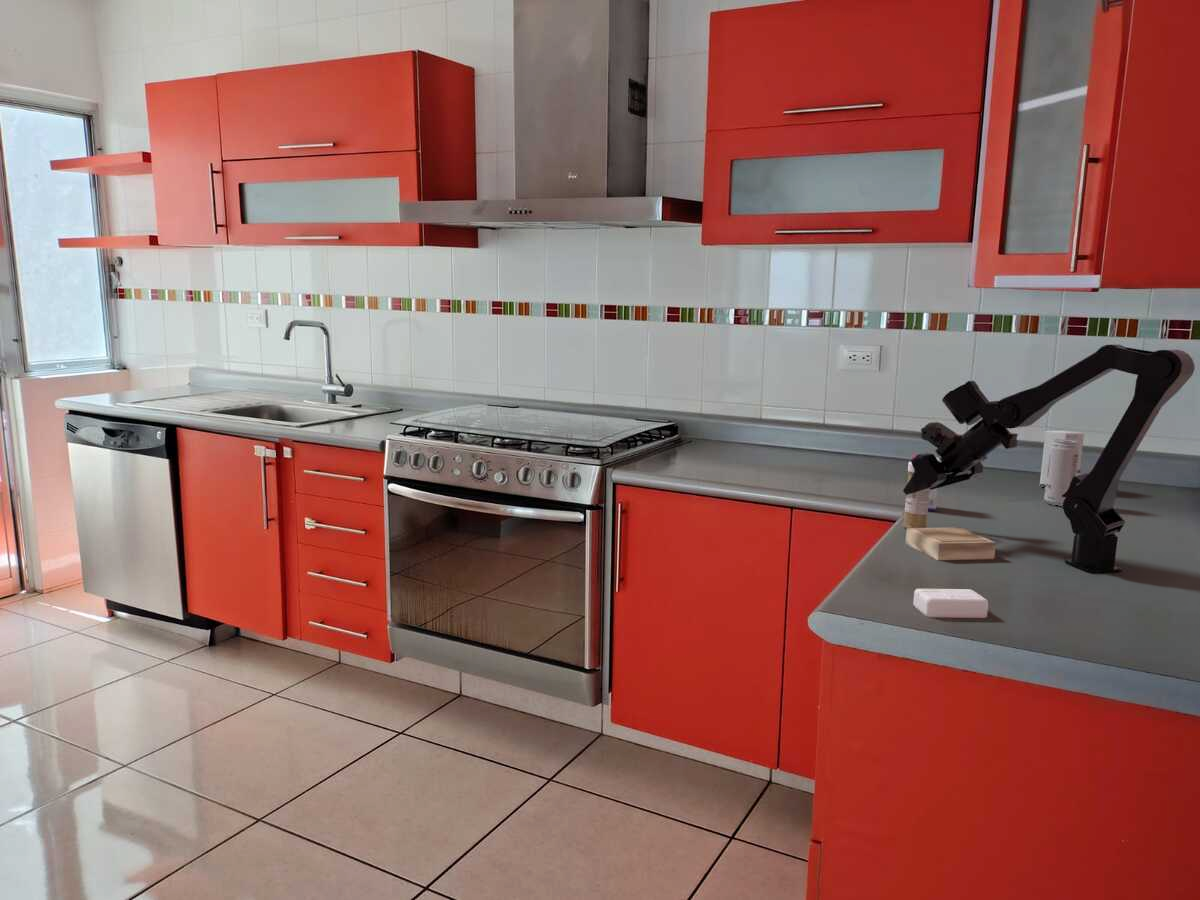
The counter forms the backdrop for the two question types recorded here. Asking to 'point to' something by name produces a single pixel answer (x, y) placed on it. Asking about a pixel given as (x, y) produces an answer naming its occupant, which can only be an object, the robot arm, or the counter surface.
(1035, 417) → the robot arm
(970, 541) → the beech tray
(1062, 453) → the energy drink can
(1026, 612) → the counter surface
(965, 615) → the soap
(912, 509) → the sprinkles bottle
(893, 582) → the counter surface
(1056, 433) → the skincare box
